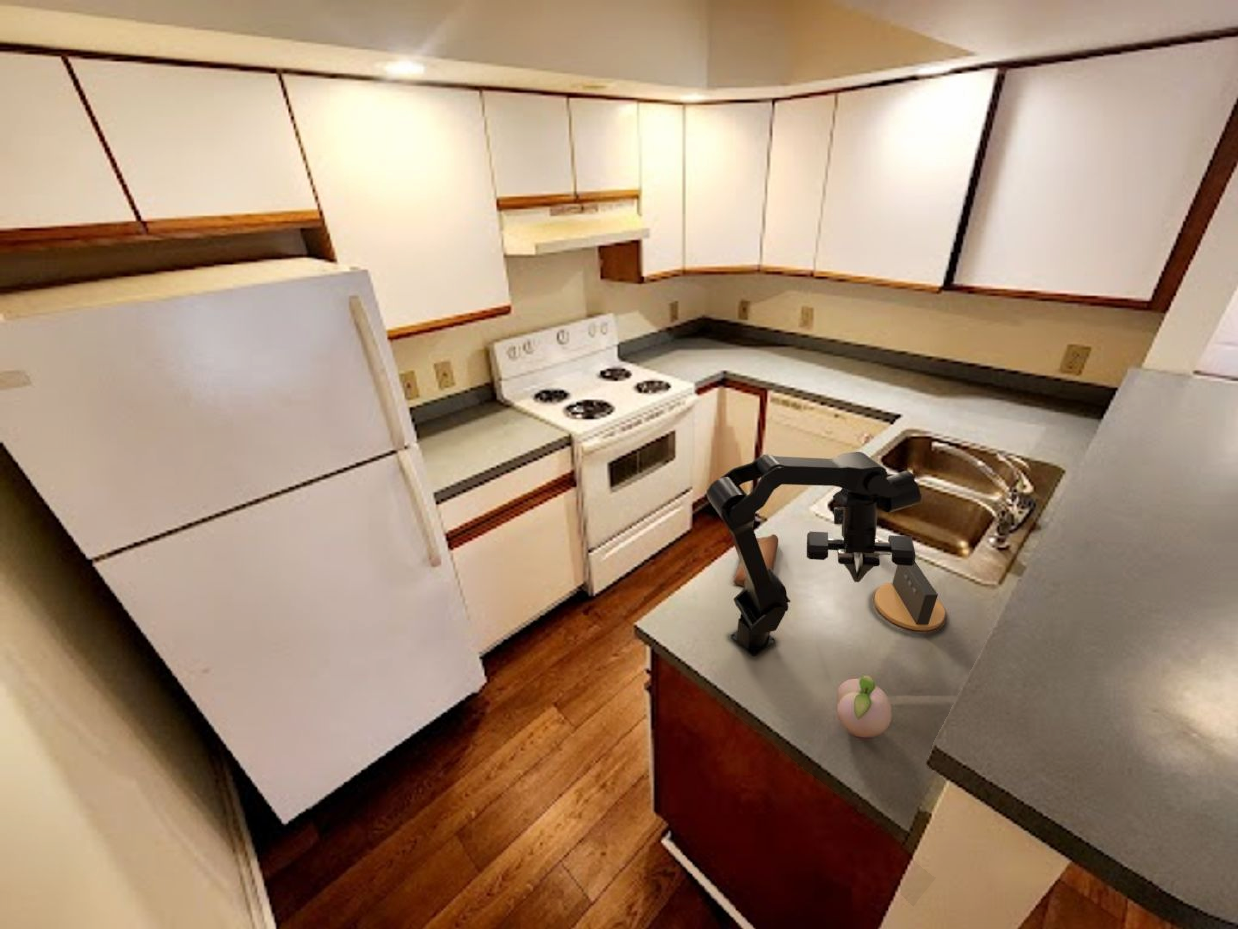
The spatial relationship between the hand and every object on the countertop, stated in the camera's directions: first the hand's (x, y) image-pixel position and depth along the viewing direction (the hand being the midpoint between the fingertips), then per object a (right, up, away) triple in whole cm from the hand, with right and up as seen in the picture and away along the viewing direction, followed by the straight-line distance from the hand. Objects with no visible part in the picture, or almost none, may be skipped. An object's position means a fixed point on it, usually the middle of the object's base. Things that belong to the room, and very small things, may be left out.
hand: (856, 580), depth 106 cm
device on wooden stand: (+14, -7, +7) cm, 17 cm away
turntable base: (+14, -8, +7) cm, 18 cm away
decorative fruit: (-7, -22, -15) cm, 28 cm away
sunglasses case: (-14, -1, +22) cm, 27 cm away
